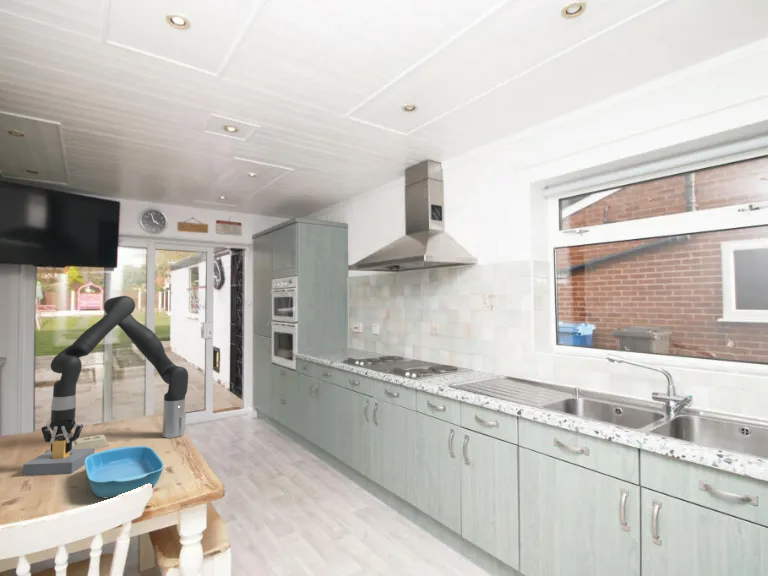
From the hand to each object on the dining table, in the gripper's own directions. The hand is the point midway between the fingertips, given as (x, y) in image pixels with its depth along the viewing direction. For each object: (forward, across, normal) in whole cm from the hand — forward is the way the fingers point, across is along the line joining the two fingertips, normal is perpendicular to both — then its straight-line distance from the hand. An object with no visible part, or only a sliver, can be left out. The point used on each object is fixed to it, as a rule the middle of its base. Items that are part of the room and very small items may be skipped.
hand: (61, 452), depth 160 cm
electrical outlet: (+6, +4, -22) cm, 23 cm away
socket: (+5, 0, 0) cm, 5 cm away
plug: (+2, 0, 0) cm, 2 cm away
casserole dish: (+6, -29, +17) cm, 34 cm away
